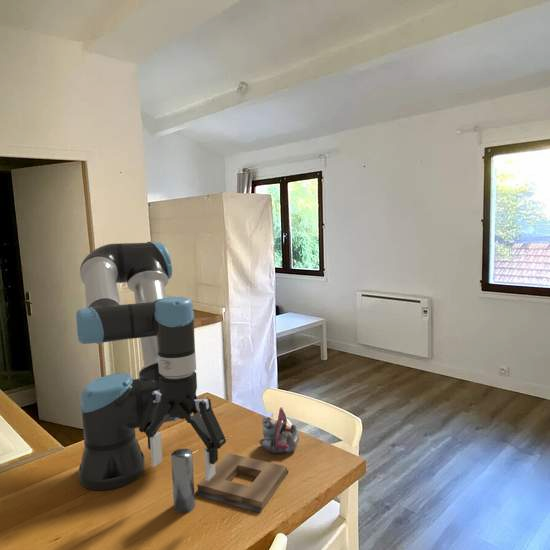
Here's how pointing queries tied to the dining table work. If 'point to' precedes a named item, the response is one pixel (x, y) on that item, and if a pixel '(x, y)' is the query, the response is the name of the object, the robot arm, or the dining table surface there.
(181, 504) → the steel cylinder rod
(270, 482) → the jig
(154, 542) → the dining table surface
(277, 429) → the red and grey figurine
